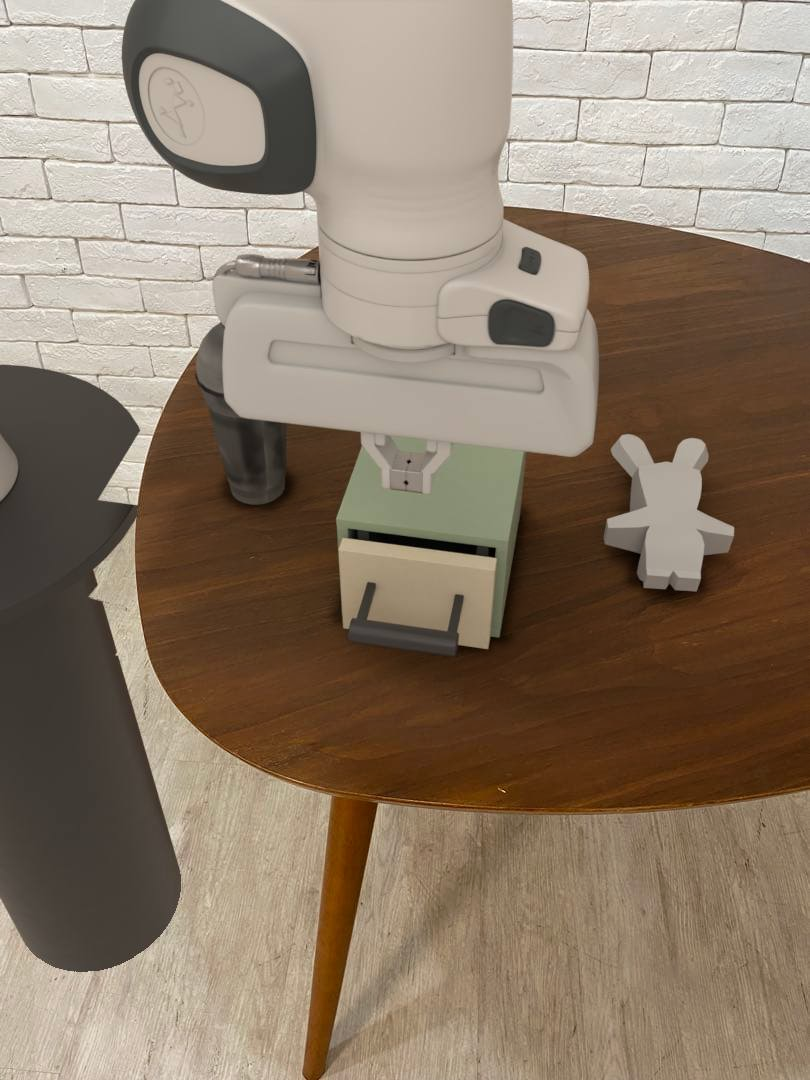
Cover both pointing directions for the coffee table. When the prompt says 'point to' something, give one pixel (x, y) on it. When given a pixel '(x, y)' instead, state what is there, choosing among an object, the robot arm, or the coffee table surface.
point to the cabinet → (445, 505)
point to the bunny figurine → (666, 515)
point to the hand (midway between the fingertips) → (408, 485)
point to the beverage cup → (241, 432)
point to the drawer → (416, 592)
